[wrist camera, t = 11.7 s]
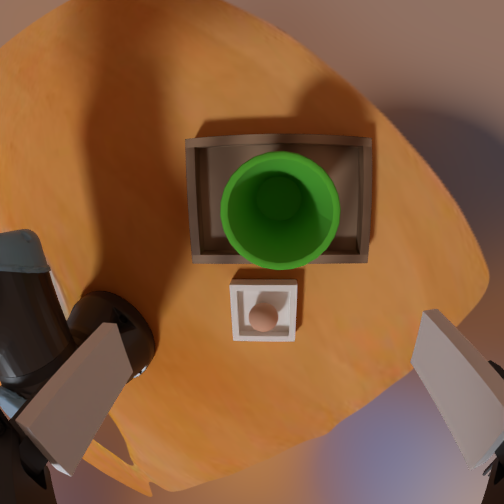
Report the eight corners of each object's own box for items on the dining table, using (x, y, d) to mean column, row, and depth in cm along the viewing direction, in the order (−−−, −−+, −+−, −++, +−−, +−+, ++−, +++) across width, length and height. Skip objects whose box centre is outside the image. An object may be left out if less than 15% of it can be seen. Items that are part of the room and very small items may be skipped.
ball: (250, 322, 36) (247, 337, 32) (249, 297, 35) (246, 311, 31) (278, 322, 35) (278, 337, 32) (278, 297, 34) (278, 311, 31)
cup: (244, 152, 30) (228, 142, 19) (325, 166, 29) (351, 164, 19) (233, 230, 32) (212, 259, 22) (310, 243, 32) (326, 279, 21)
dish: (235, 333, 37) (233, 340, 35) (231, 279, 35) (229, 284, 33) (294, 333, 36) (294, 341, 35) (296, 279, 34) (297, 285, 32)
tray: (198, 256, 34) (192, 263, 32) (192, 141, 30) (185, 139, 28) (360, 255, 33) (367, 263, 30) (363, 140, 29) (371, 138, 26)
